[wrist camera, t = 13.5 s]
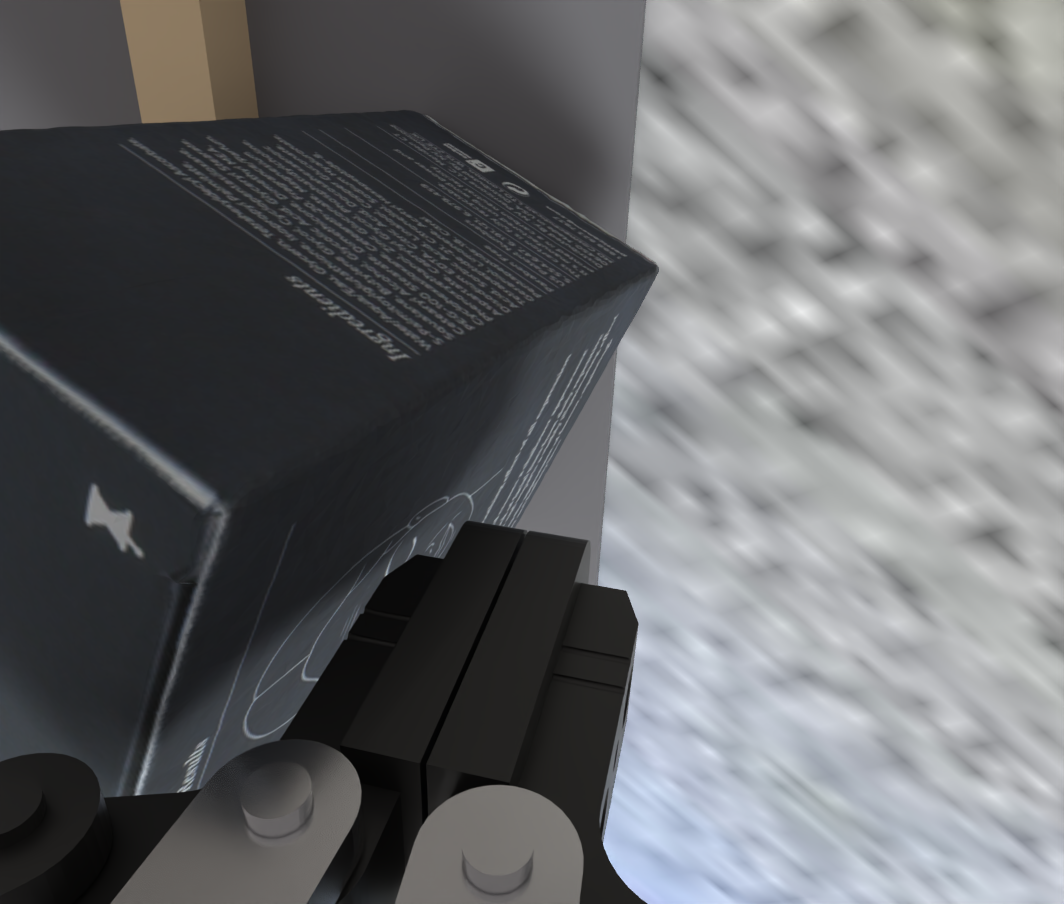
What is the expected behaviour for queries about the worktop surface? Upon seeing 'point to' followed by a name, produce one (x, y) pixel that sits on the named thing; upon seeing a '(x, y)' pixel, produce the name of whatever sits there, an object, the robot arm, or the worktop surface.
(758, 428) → the worktop surface
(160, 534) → the box
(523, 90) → the mat
